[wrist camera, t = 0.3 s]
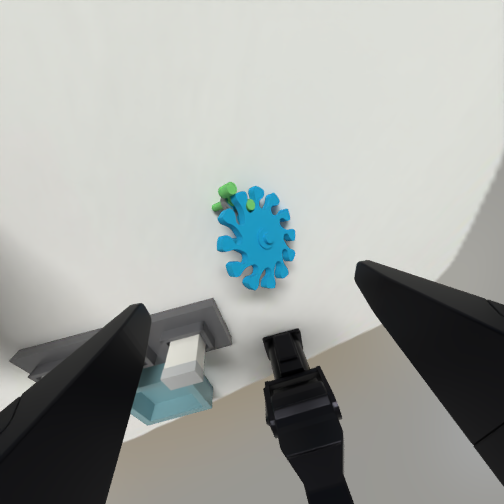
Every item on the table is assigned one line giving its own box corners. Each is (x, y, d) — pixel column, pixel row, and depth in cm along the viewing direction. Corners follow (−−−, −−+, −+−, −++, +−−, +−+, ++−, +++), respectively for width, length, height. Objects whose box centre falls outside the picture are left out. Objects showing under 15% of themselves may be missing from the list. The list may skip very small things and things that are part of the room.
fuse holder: (231, 336, 31) (232, 353, 29) (66, 381, 31) (52, 402, 29) (213, 297, 27) (212, 314, 24) (19, 350, 27) (-3, 372, 24)
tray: (212, 387, 38) (212, 408, 35) (153, 403, 38) (147, 425, 35) (188, 353, 32) (185, 375, 29) (116, 372, 32) (106, 396, 29)
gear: (310, 248, 23) (266, 314, 17) (273, 250, 27) (228, 304, 22) (268, 156, 18) (192, 206, 13) (232, 177, 23) (163, 221, 17)
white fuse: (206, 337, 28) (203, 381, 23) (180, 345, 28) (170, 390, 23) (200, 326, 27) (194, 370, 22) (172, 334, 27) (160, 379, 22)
